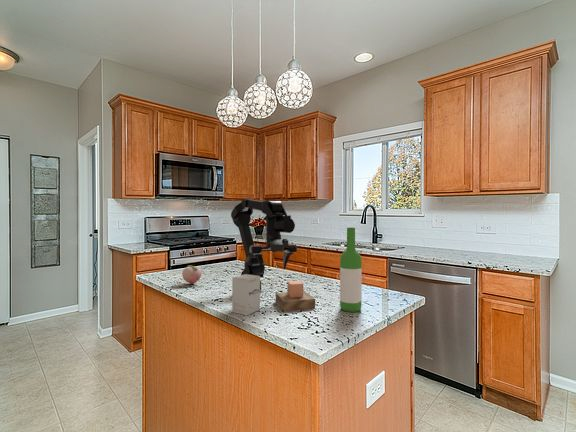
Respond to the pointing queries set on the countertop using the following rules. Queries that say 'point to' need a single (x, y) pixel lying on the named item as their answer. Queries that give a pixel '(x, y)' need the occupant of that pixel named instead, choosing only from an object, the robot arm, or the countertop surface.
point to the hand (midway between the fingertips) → (273, 269)
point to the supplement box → (245, 294)
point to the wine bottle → (350, 276)
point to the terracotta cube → (295, 288)
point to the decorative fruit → (191, 274)
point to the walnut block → (295, 301)
